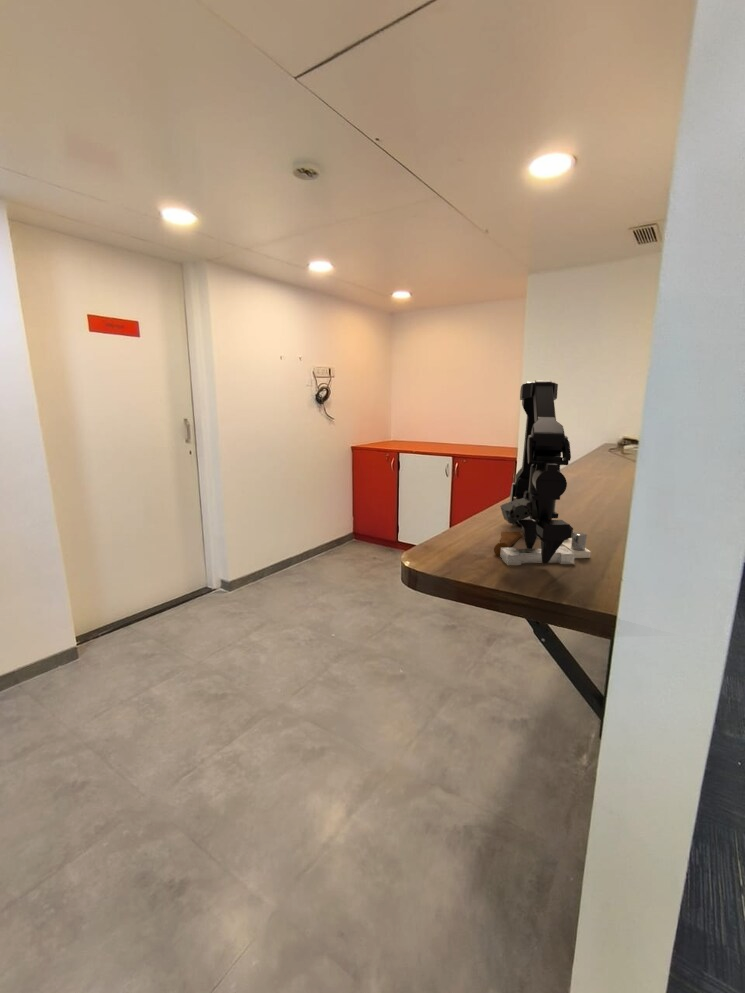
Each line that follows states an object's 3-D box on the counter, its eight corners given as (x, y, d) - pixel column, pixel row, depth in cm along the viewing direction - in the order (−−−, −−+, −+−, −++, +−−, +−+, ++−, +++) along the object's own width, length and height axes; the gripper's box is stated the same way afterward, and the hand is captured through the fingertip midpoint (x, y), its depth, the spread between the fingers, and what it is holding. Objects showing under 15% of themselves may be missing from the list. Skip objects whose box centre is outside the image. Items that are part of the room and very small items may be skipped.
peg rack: (550, 540, 113) (552, 522, 112) (565, 540, 113) (567, 521, 112) (573, 558, 101) (575, 537, 100) (590, 557, 101) (592, 536, 100)
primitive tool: (501, 533, 120) (502, 520, 120) (522, 535, 118) (524, 523, 118) (492, 557, 103) (493, 543, 102) (517, 560, 101) (518, 546, 100)
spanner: (500, 557, 102) (500, 547, 101) (563, 556, 103) (564, 546, 102) (507, 565, 97) (508, 555, 97) (573, 564, 98) (575, 553, 97)
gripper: (492, 480, 105) (488, 542, 108) (522, 498, 87) (516, 573, 90) (539, 479, 105) (533, 542, 109) (578, 498, 87) (569, 572, 91)
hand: (536, 556), depth 100 cm, fingers open, 8 cm apart
